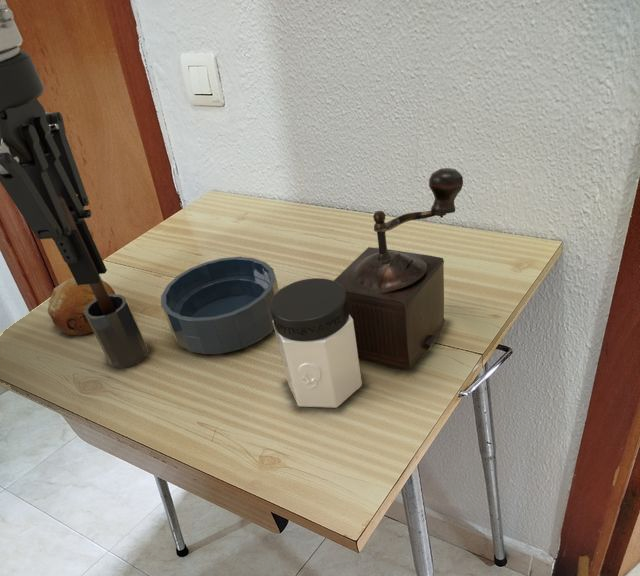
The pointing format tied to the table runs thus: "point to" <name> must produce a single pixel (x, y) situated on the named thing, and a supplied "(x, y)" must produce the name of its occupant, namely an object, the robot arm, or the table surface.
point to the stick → (99, 287)
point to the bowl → (221, 305)
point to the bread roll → (72, 306)
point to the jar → (316, 342)
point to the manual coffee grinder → (400, 288)
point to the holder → (117, 333)
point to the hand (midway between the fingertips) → (92, 277)
